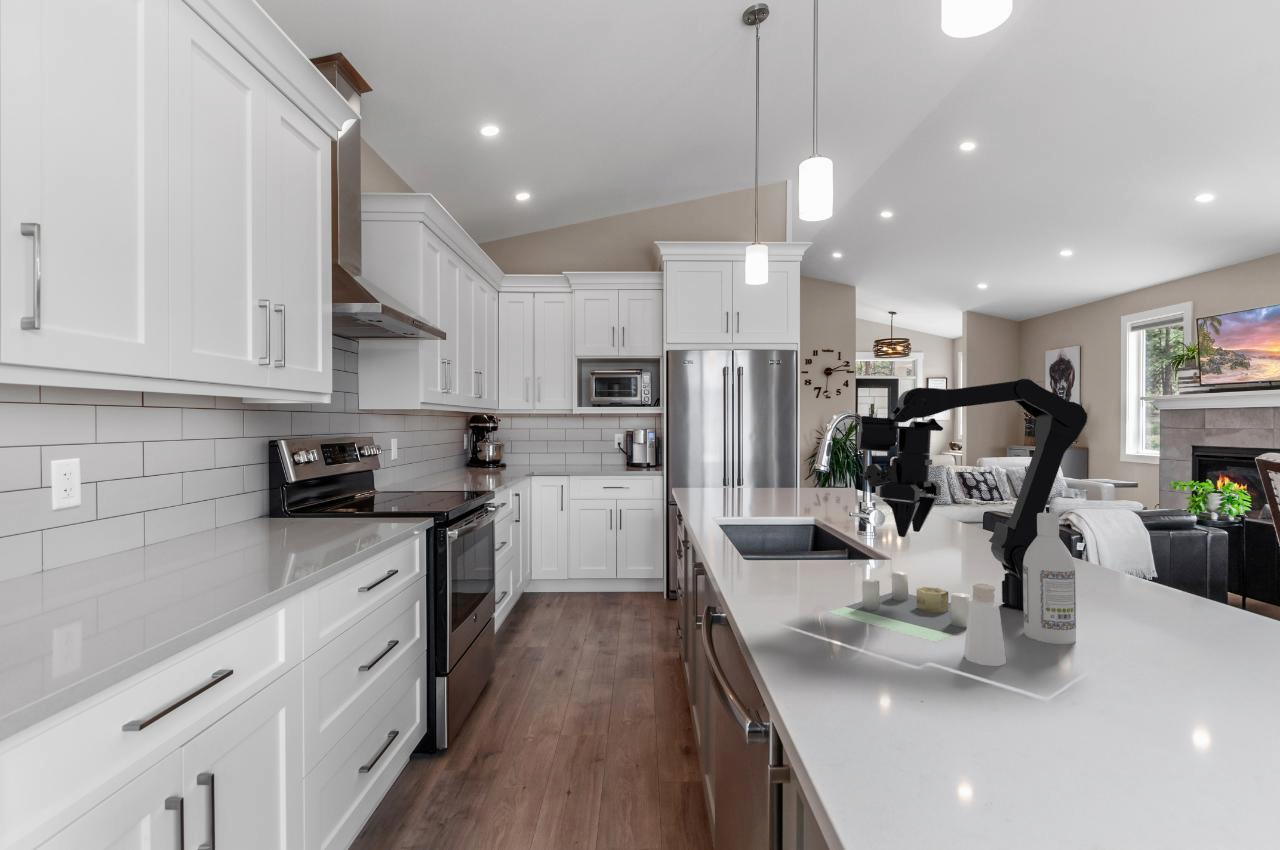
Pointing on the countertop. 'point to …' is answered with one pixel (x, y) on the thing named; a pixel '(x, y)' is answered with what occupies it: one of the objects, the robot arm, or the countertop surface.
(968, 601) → the cylinder
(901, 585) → the cylinder
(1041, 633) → the bath foam
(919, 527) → the robot arm
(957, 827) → the countertop surface
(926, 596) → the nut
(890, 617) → the mat
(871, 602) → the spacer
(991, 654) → the pepper shaker
